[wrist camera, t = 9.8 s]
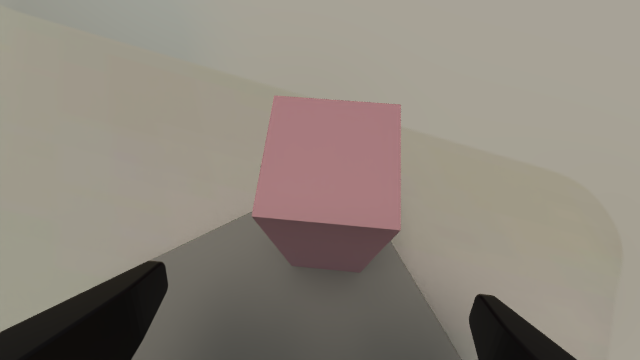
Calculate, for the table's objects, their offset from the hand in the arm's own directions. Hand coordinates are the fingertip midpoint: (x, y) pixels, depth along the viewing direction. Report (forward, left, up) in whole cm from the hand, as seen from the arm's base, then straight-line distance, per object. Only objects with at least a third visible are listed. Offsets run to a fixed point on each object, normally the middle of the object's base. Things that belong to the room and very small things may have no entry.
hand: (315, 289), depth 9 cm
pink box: (+2, +3, -12) cm, 12 cm away
